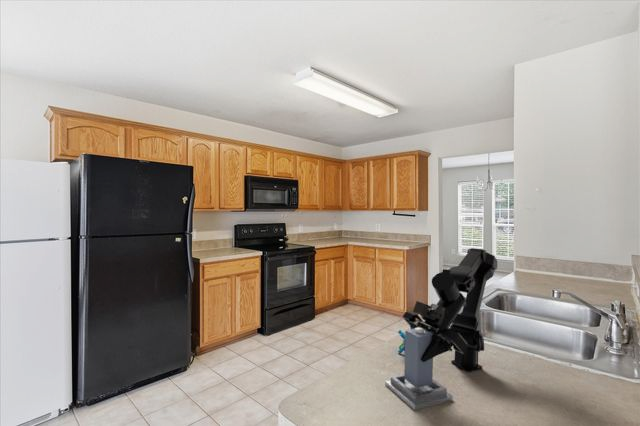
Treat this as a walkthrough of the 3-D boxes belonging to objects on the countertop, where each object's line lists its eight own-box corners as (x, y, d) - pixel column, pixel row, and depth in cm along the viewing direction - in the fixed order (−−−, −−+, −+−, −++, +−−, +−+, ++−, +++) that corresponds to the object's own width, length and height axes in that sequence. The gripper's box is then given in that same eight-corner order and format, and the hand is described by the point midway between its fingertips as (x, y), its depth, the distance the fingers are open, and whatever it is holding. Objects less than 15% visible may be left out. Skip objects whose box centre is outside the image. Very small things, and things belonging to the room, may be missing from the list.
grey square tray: (420, 376, 91) (420, 368, 91) (452, 400, 80) (452, 390, 80) (385, 384, 86) (385, 375, 86) (414, 410, 75) (414, 399, 75)
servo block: (419, 374, 86) (420, 324, 86) (432, 384, 82) (433, 331, 82) (404, 378, 84) (405, 327, 84) (416, 388, 80) (418, 334, 80)
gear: (425, 357, 100) (402, 332, 102) (411, 369, 100) (388, 344, 102) (420, 347, 111) (399, 325, 113) (407, 359, 111) (387, 336, 113)
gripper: (408, 283, 93) (376, 325, 88) (460, 299, 76) (424, 353, 72) (427, 307, 96) (398, 349, 92) (482, 327, 80) (448, 380, 75)
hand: (414, 356), depth 82 cm, fingers closed on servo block, 5 cm apart
